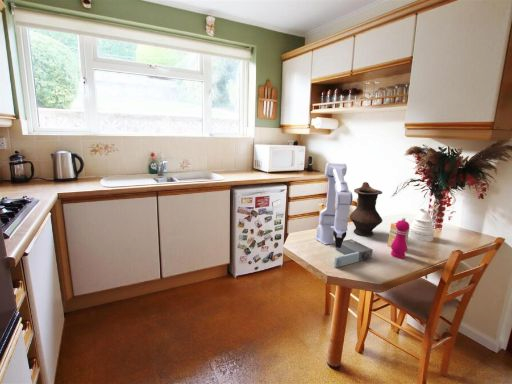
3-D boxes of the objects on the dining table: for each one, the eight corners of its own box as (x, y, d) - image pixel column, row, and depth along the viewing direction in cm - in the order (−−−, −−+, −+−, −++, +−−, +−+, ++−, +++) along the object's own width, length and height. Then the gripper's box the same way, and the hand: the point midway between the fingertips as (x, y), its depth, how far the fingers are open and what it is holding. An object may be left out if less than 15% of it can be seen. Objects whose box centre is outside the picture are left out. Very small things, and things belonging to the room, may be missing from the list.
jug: (383, 240, 164) (391, 189, 157) (350, 237, 167) (356, 186, 160) (374, 228, 184) (381, 182, 178) (345, 225, 187) (350, 180, 180)
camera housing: (335, 249, 148) (337, 241, 147) (350, 247, 153) (351, 238, 152) (358, 262, 135) (359, 252, 134) (373, 259, 139) (374, 249, 138)
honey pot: (410, 239, 168) (415, 209, 164) (406, 232, 180) (411, 204, 176) (435, 243, 164) (441, 212, 160) (429, 235, 176) (434, 207, 173)
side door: (337, 268, 127) (338, 259, 126) (334, 266, 129) (335, 257, 128) (360, 262, 134) (361, 253, 133) (356, 260, 136) (357, 252, 135)
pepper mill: (397, 259, 140) (403, 220, 136) (386, 253, 147) (392, 215, 142) (409, 258, 142) (415, 219, 138) (398, 252, 149) (404, 215, 145)
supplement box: (386, 245, 157) (390, 222, 154) (393, 244, 159) (397, 222, 156) (399, 251, 150) (403, 227, 147) (406, 250, 151) (410, 227, 148)
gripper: (333, 213, 136) (330, 240, 139) (330, 221, 122) (327, 251, 125) (348, 215, 133) (345, 242, 136) (348, 224, 120) (344, 254, 123)
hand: (338, 247), depth 131 cm, fingers closed
